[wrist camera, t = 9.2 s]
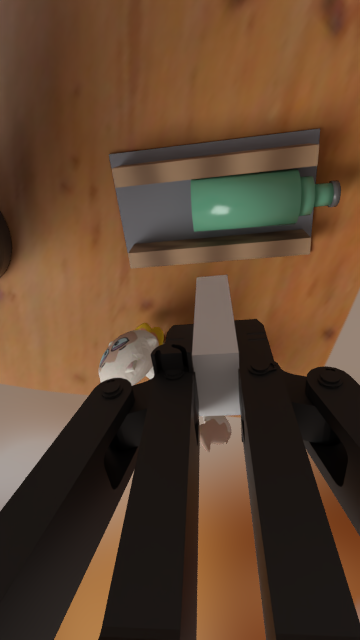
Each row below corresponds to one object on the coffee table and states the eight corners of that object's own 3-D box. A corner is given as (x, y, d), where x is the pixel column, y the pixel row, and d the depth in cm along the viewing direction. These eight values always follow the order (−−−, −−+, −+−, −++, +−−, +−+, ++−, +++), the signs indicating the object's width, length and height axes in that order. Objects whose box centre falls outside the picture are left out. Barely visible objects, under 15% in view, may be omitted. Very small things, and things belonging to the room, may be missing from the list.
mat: (131, 266, 42) (130, 267, 42) (109, 154, 36) (108, 154, 36) (308, 252, 40) (309, 253, 39) (319, 128, 33) (320, 128, 33)
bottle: (192, 230, 33) (345, 219, 31) (189, 173, 32) (347, 158, 30) (195, 232, 38) (326, 223, 37) (192, 183, 37) (327, 171, 36)
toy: (147, 283, 43) (122, 348, 30) (249, 363, 49) (264, 448, 36) (109, 326, 47) (72, 400, 34) (207, 396, 52) (207, 484, 39)
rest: (136, 258, 41) (130, 268, 38) (119, 165, 36) (111, 168, 33) (301, 244, 39) (309, 254, 36) (308, 143, 34) (319, 144, 31)
